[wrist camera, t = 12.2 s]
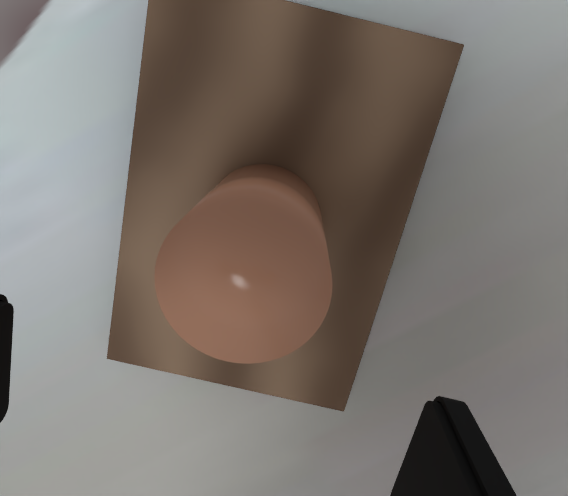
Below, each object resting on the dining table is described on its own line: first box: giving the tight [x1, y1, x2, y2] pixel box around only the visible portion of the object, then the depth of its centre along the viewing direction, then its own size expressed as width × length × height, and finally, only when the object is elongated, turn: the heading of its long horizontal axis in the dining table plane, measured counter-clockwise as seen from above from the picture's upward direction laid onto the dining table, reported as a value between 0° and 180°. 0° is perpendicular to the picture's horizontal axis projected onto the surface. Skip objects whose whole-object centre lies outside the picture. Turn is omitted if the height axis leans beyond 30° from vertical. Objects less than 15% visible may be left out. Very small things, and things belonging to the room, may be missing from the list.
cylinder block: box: [154, 164, 332, 364], centre depth 19 cm, size 6×6×8 cm
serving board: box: [107, 0, 464, 411], centre depth 23 cm, size 14×20×1 cm
